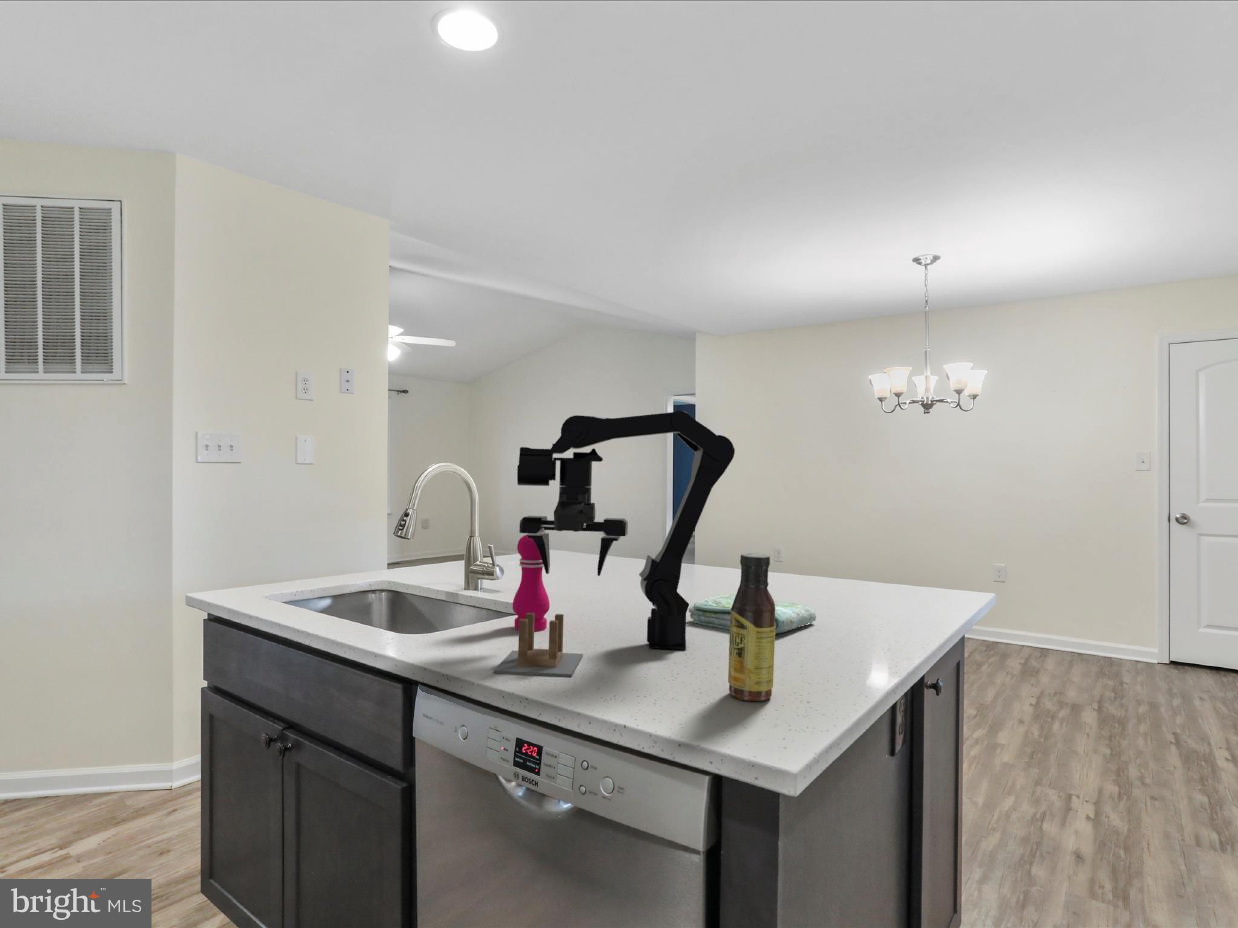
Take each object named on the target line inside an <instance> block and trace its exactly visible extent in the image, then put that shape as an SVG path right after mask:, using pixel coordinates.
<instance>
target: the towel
mask: <svg viewBox="0 0 1238 928" xmlns="http://www.w3.org/2000/svg"><path fill="white" fill-rule="evenodd" d="M735 596H736V594H735V595H734V594H722V595H718V596H712V597H708V598H706V599H703V600H700V601H699V602H695V603H694V604H693V605H690V607H688V613H690V614H689V617H690V619H691V620H693V621H692V622H693V624H696V623H698V624H697V625H701V624H704V625H703V626H706V625H707V626H706V627H712V626H714V627H713V628H717V627H720V628H719V629H723V628H725V630H729V629H730V615H731V607H732V605H733V602H734V599H735ZM773 601H774V603H775V635H778V634H782V633H786V632H789V630H790V631H792V629H793V630H795V629H798V628H797V627H799V626H802V625H805V624H808V623H812V622H813V621H814V622H816V618H817V615H816V613H815V611H813V610H812V609H811V608H809V607H807V606H805V605H802V604H799V603H794V602H788V601H777V600H773ZM814 622H813V623H814ZM813 623H812V624H813ZM802 627H803V626H802ZM799 628H800V627H799ZM777 633H778V634H777Z"/></svg>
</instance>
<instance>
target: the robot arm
mask: <svg viewBox="0 0 1238 928" xmlns="http://www.w3.org/2000/svg"><path fill="white" fill-rule="evenodd" d="M665 434H675V436H677V437H678V438H679V439H680V440H681V441H682V443H684V444H685V445H686V446H687V447H689V449H691V450H692V451H693V452H694V457H693V461H692V466H691V467H692V468H691V476H690V481H689V483H688V485H687V487H686V489H685V492H684V494H683V497H682V500H681V502H680V503H679V504H680V505H679V507H678V509H677V511H676V514H675V516H674V519H673V521H672V524H671V526H670V528H669V531H668V533H667V534H666V538H665V539H664V543H663V545H662V547H661V549H660V551H658V553H657V554H656V555H655V557H652V556H651V555H649V554H648V555H647V556H646V559H645V563H644V566H643V569H642V570H641V571H640V572H639V574H638V575H639V577H640V583H639V584H640V589H641V592H642V593H643V595H644V596H645V598H646V599H647V600H648V601H649V602H650V603H651V604H652V606H653V607H652V608H651V610H650V616H648V617H647V623H646V625H647V629H646V630H647V631H646V642H647V644H648V643H649V645H648V648H650V649H663V650H665V649H666V650H668V649H669V650H687V639H686V637H687V636H686V635H687V634H686V633H687V628H686V627H687V612H688V611H689V608H690V607H689V606H690V604H689V603H688V601H687V600H686V599H685V598H684V597H683V596H682V595H681V593H679V592H678V588H679V583H680V579H681V575H682V565H683V559H684V555H685V554H686V552H687V551H686V550H687V549H688V547H689V544H690V542H691V539H692V537H693V534H694V533H695V529H696V527H697V525H698V522H699V521H700V518H701V515H702V513H703V511H704V509H705V506H706V504H707V501H708V499H709V497H710V494H711V491H712V489H713V487H714V486H715V485H716V483H717V482H719V480H720V478H721V477H722V476H723V475H724V474H725V472H726V471H727V468H728V467H729V466H730V464H731V463H732V461H733V459H734V457H735V454H736V453H735V450H736V449H735V447H734V445H733V442H732V441H731V440H730V438H728V437H727V436H725V435H721V434H716V433H715V432H713V431H712V430H711V429H709V428H708V427H707V426H705V425H703V424H702V423H701V422H699V421H698V420H696V419H695V418H694V417H692V416H691V415H690V414H689V413H688V412H687V411H685V410H681V409H680V410H679V409H678V410H675V411H671V412H662V413H655V414H654V413H653V414H644V415H634V416H622V417H615V418H611V417H601V416H593V415H592V416H591V415H579V414H578V415H571V416H569V417H567V419H565V420H564V422H563V423H562V425H561V428H560V436H559V438H558V439H557V440H556V441H555V442H554V443H552V445H551V447H550V448H531V447H527V446H525V447H524V446H521V447H520V448H519V456H518V464H517V475H516V476H517V480H516V481H517V482H516V483H517V486H529V487H530V486H532V487H533V486H535V487H536V486H537V487H539V486H540V487H550V481H552V482H553V481H556V478H557V476H556V475H557V462H558V461H559V483H558V485H559V488H558V490H559V491H558V501H557V504H556V506H555V508H554V510H553V519H552V520H551V519H548V516H546V515H527V516H523V517H522V518H521V519H520V521H519V534H526V535H527V534H528V535H527V538H531V539H533V541H534V542H535V544H536V546H537V548H538V550H539V552H540V556H541V559H542V562H543V565H544V567H543V568H544V572H545V574H546V575H548V574H550V569H551V559H550V558H551V556H550V553H551V552H550V533H549V532H547V531H557V532H563V531H567V532H568V531H569V532H574V533H575V532H597V533H598V532H599V533H602V534H603V536H602V537H601V538H600V547H599V555H598V562H597V573H596V574H597V577H600V576H601V574H602V571H603V569H604V566H605V564H606V563H605V562H606V560H607V557H608V554H609V552H610V550H611V547H612V546H613V543H614V542H618V541H619V540H620V539H621V537H626V536H627V535H628V533H629V531H628V529H629V524H628V523H629V522H628V521H627V520H626V518H615V517H614V518H612V517H606V518H604V519H603V521H595V520H596V503H595V502H592V476H593V475H592V474H593V473H592V471H593V462H596V463H600V462H603V460H604V458H603V457H602V456H601V455H599V454H598V451H597V450H596V448H594V447H593V448H592V449H591V450H590V451H589V452H587V451H586V452H584V451H580V452H579V451H573V453H572V457H554V455H563V454H564V453H567V451H569V450H571V449H572V450H580V449H584V448H587V447H591V446H594V445H599V444H601V443H604V442H608V441H612V440H617V439H625V438H626V439H627V438H634V437H647V436H655V435H656V436H657V435H665Z"/></svg>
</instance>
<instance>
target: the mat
mask: <svg viewBox="0 0 1238 928" xmlns="http://www.w3.org/2000/svg"><path fill="white" fill-rule="evenodd" d="M583 657H584V654H583V653H575V652H572V653H571V652H570V653H569V652H563V657H562V659H561V660H560V662H559V663H558V665H557V667H537V666H518V650H512V651H510V653H509V654H508V655H506V657H504V658H503V660H502V661H501V662H500V663H499V664H498V665H497V666H496V667H495V668H494V669H493V674H506V675H507V674H508V675H509V674H510V675H524V676H525V675H527V676H544V677H545V676H547V677H565V678H572V677H573V676H574V673H575V671H576V670H577V668H578V666H579V664H580V662H581V661H582V659H583Z"/></svg>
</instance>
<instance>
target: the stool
mask: <svg viewBox="0 0 1238 928" xmlns="http://www.w3.org/2000/svg"><path fill="white" fill-rule="evenodd" d="M564 615H565V614H561V613H556V614H555V615H554V620H553V619H551V620H550V621H549V623H548V625H549V626H548V627H549V629H548V630H549V631H548V633H549V634H548V648H535V647H534V646H535V631H534V619H535V613H527V614H526V619H520V620H519V630H518V643H517V644H518V648H517V651H518V666H537V667H557V665H558V663H559V662H560V660H561V659H562V657H563V653H564V651H563V649H564V646H563V645H564V617H565V616H564Z"/></svg>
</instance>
